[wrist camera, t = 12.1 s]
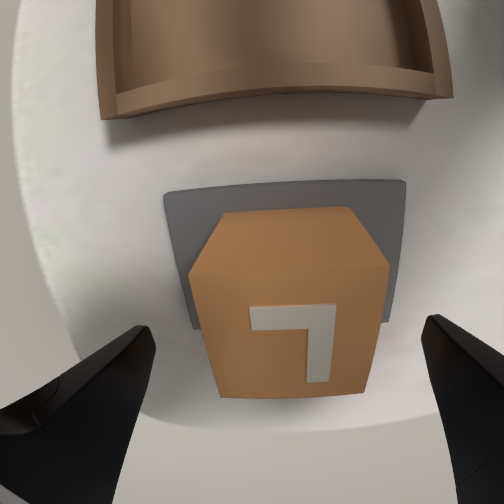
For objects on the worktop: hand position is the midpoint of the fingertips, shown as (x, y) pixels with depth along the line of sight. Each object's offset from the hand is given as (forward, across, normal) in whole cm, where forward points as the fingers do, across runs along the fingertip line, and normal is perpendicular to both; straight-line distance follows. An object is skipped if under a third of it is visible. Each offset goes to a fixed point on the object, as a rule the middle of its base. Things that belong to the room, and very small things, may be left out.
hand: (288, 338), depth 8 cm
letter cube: (+4, 0, 0) cm, 5 cm away
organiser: (+5, 0, -21) cm, 22 cm away
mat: (+5, 0, 0) cm, 5 cm away
